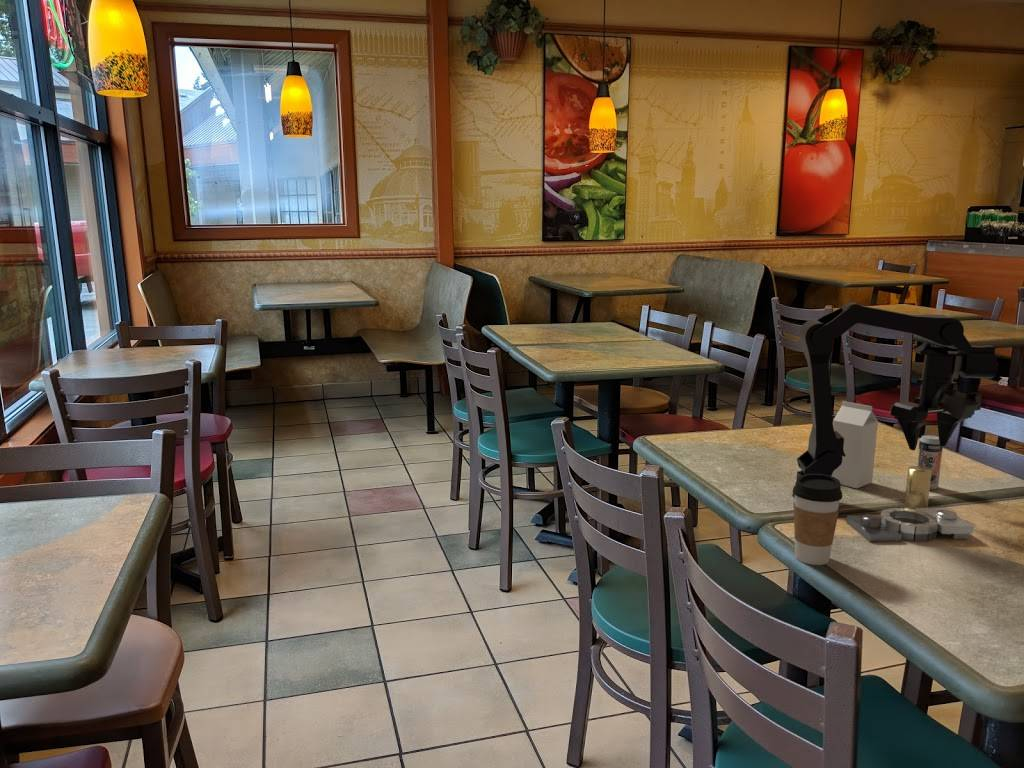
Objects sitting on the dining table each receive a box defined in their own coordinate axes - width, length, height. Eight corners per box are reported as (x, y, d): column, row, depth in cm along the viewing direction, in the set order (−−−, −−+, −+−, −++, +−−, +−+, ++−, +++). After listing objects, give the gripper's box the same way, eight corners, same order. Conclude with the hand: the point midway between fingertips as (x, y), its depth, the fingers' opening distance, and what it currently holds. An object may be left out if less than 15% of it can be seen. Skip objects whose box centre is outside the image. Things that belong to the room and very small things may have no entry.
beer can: (914, 488, 183) (919, 438, 180) (914, 482, 187) (920, 433, 184) (937, 491, 181) (943, 440, 178) (938, 485, 185) (943, 435, 182)
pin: (910, 513, 168) (915, 472, 166) (900, 505, 172) (904, 466, 170) (931, 513, 168) (935, 472, 166) (920, 505, 172) (924, 465, 170)
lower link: (869, 542, 153) (871, 527, 152) (846, 522, 162) (847, 508, 162) (946, 541, 153) (948, 526, 152) (919, 521, 163) (920, 507, 162)
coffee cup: (843, 557, 146) (850, 479, 143) (826, 572, 140) (833, 491, 136) (798, 545, 151) (804, 469, 148) (780, 559, 145) (785, 480, 142)
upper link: (895, 541, 153) (897, 523, 152) (870, 522, 163) (872, 504, 162) (972, 540, 153) (974, 522, 152) (943, 521, 163) (945, 503, 162)
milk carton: (857, 489, 182) (864, 408, 178) (828, 481, 188) (834, 403, 184) (872, 483, 187) (879, 404, 183) (843, 475, 192) (850, 398, 188)
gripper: (941, 386, 155) (930, 463, 158) (1004, 380, 163) (992, 454, 166) (893, 375, 165) (884, 448, 168) (954, 370, 173) (945, 440, 176)
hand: (927, 447), depth 169 cm, fingers open, 9 cm apart
